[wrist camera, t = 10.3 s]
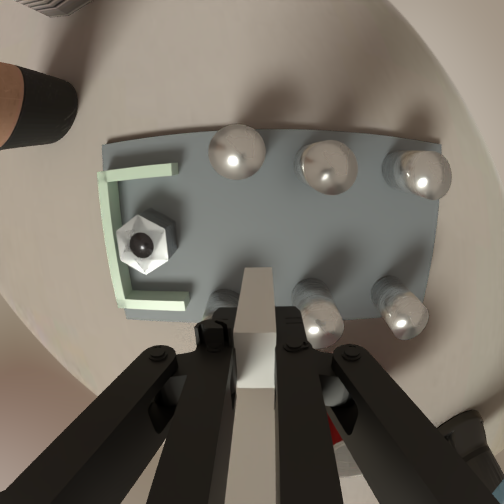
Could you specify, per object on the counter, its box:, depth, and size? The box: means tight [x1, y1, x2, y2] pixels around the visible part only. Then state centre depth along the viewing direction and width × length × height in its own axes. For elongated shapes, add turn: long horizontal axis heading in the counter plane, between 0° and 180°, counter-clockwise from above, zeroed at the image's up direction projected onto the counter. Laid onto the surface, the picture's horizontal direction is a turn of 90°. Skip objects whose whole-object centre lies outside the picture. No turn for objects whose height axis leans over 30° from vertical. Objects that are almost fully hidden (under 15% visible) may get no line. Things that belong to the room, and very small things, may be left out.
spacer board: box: [102, 129, 441, 323], centre depth 26 cm, size 18×32×1 cm, turn 91°
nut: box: [116, 208, 178, 275], centre depth 24 cm, size 5×4×3 cm
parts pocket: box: [97, 163, 190, 311], centre depth 25 cm, size 13×7×2 cm, turn 1°
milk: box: [225, 384, 276, 504], centre depth 21 cm, size 12×12×26 cm
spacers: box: [196, 124, 452, 349], centre depth 22 cm, size 18×20×6 cm
